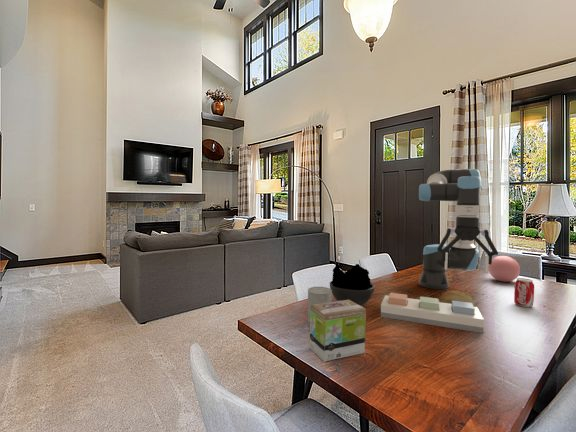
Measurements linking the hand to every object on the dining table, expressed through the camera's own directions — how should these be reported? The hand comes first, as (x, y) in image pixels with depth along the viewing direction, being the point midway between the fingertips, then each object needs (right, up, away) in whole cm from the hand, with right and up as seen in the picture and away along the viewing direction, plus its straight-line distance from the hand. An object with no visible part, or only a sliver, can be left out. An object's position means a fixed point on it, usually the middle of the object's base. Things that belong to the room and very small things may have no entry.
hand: (465, 270), depth 117 cm
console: (-11, -21, +6) cm, 24 cm away
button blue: (-1, -17, +1) cm, 17 cm away
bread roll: (+7, -20, +18) cm, 28 cm away
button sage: (-11, -16, +6) cm, 21 cm away
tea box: (-53, -22, -21) cm, 61 cm away
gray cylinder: (-57, -21, +4) cm, 60 cm away
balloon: (+61, -18, +64) cm, 90 cm away
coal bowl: (-40, -20, +20) cm, 49 cm away
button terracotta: (-22, -16, +11) cm, 30 cm away
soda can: (+39, -20, +21) cm, 49 cm away
